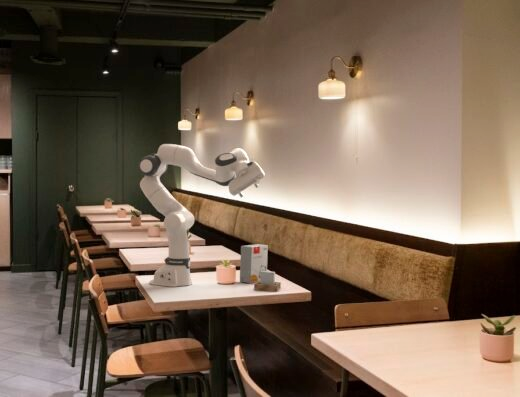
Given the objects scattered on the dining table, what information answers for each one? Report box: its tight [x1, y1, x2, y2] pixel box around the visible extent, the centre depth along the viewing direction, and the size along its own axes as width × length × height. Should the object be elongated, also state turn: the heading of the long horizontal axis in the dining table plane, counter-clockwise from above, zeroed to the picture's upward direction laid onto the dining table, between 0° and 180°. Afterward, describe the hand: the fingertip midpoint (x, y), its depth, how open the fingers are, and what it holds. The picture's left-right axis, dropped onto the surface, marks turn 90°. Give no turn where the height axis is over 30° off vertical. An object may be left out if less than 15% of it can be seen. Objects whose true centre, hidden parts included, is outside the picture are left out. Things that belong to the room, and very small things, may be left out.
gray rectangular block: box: [260, 270, 276, 285], centre depth 334 cm, size 7×3×9 cm, turn 78°
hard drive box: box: [239, 244, 269, 284], centre depth 355 cm, size 16×8×20 cm, turn 143°
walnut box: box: [253, 281, 282, 292], centre depth 334 cm, size 12×10×3 cm
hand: (249, 191), depth 320 cm, fingers open, 8 cm apart
